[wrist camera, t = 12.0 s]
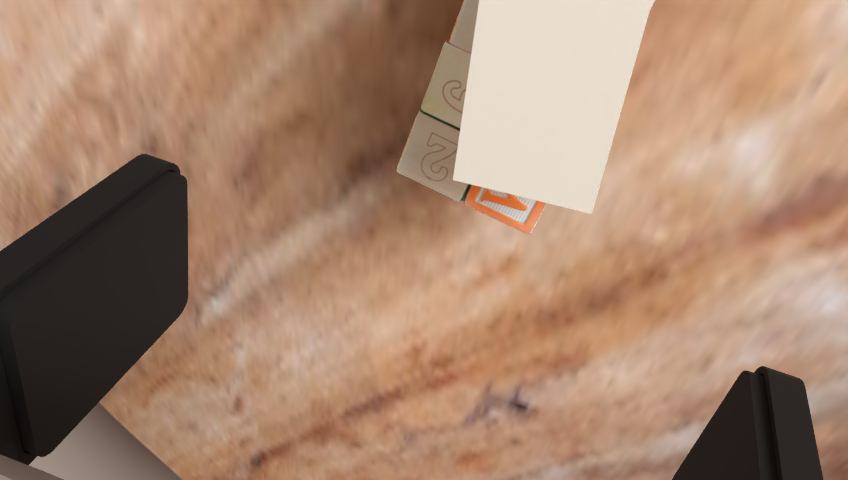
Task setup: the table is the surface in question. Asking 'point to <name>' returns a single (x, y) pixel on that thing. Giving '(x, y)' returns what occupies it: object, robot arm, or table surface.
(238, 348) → the table surface
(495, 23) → the cream bar block
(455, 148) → the stack of blocks
